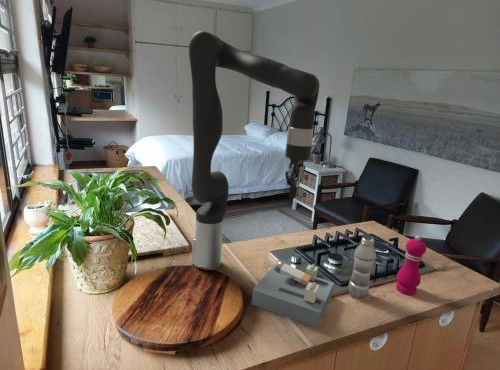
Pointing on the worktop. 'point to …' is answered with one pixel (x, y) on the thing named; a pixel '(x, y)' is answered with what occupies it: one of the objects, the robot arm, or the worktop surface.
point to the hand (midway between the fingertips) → (292, 197)
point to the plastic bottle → (362, 268)
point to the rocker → (295, 274)
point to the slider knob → (311, 292)
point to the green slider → (312, 271)
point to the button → (280, 264)
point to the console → (291, 297)
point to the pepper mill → (411, 267)
